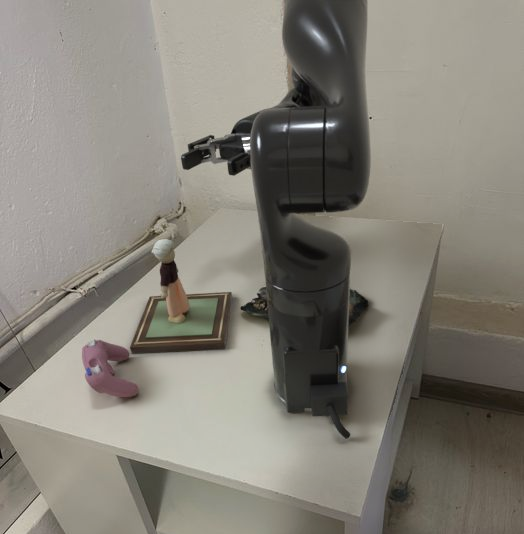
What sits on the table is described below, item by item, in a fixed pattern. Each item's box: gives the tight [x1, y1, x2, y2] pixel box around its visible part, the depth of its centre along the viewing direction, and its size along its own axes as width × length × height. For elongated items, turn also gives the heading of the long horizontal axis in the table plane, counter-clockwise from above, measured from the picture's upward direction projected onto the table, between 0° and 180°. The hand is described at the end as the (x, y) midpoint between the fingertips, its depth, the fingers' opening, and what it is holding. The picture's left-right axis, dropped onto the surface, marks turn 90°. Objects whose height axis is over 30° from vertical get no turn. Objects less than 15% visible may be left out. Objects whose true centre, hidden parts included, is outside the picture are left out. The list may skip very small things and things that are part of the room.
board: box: [129, 291, 233, 355], centre depth 76 cm, size 14×14×1 cm
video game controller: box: [81, 338, 140, 398], centre depth 65 cm, size 10×5×7 cm, turn 21°
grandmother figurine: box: [151, 238, 190, 323], centre depth 73 cm, size 8×4×13 cm, turn 7°
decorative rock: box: [239, 286, 369, 325], centre depth 75 cm, size 19×6×15 cm
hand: (206, 165), depth 71 cm, fingers open, 8 cm apart
